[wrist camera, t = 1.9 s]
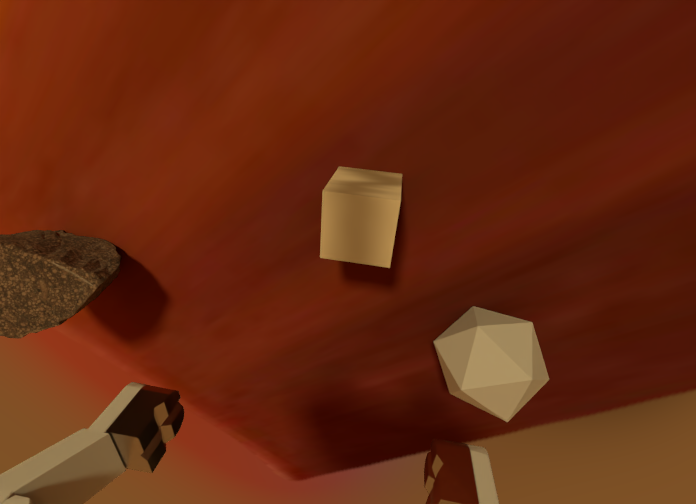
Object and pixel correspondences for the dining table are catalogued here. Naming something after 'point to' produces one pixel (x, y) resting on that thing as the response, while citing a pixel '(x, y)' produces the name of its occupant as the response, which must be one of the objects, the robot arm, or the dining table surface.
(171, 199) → the dining table surface
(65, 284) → the rock
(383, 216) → the beech block
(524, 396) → the die
